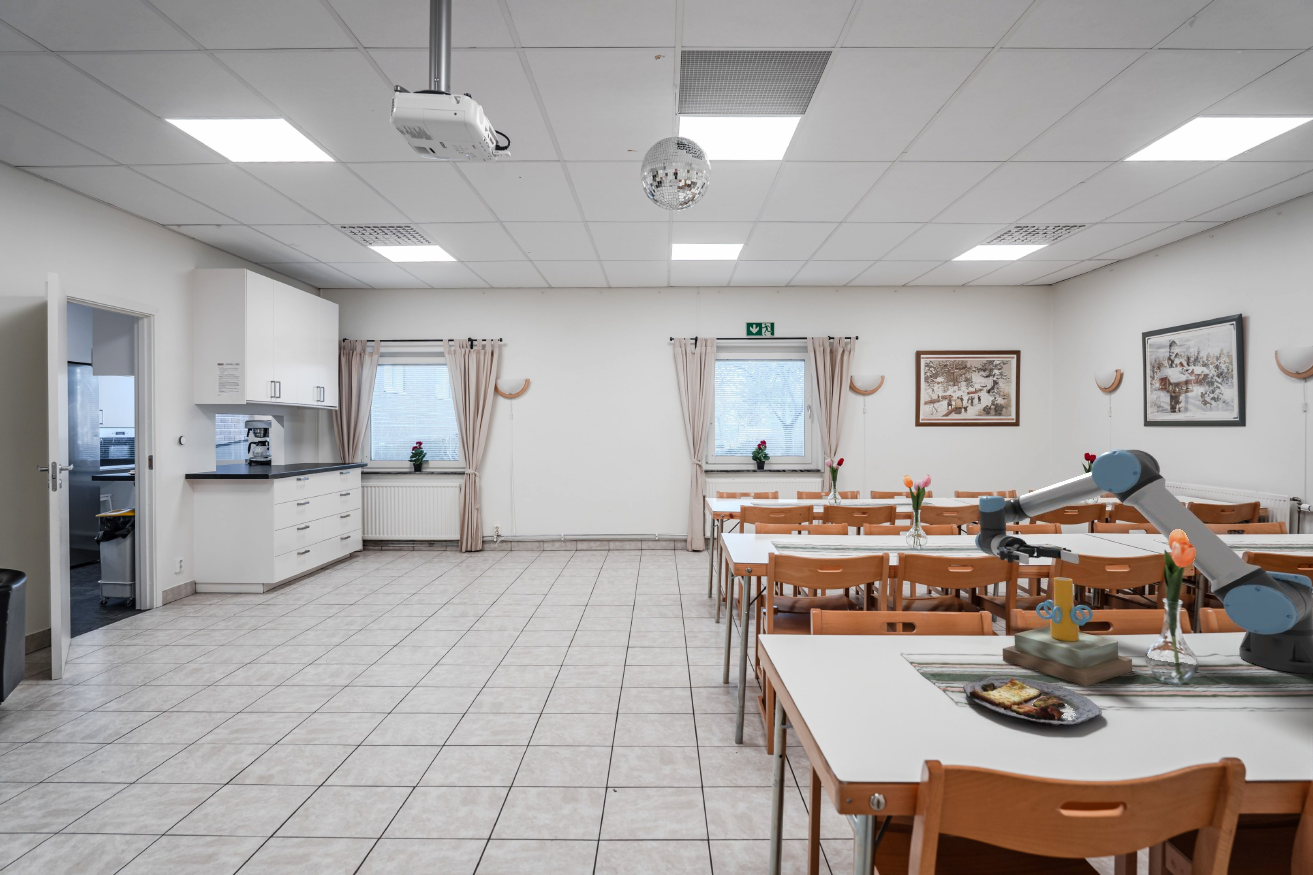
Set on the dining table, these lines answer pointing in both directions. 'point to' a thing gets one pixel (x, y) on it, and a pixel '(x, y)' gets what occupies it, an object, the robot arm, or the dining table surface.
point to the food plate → (1030, 699)
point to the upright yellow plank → (1064, 611)
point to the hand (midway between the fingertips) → (1052, 559)
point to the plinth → (1070, 670)
